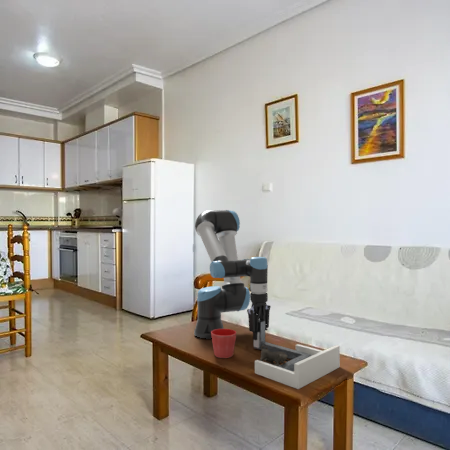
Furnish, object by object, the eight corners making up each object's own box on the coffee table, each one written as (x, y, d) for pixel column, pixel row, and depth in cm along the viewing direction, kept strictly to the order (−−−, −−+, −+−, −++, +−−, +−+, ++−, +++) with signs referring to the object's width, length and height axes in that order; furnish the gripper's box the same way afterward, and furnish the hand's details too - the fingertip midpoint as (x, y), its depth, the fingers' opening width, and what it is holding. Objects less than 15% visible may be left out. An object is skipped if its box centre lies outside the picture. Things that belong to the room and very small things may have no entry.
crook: (228, 357, 152) (227, 328, 152) (258, 346, 165) (257, 319, 165) (282, 376, 132) (282, 343, 132) (311, 362, 146) (311, 331, 146)
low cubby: (254, 373, 136) (254, 351, 136) (297, 354, 155) (297, 335, 155) (298, 389, 122) (298, 364, 122) (339, 367, 141) (339, 345, 141)
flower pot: (239, 351, 159) (239, 329, 160) (233, 360, 149) (232, 336, 149) (215, 349, 162) (215, 327, 162) (207, 358, 152) (207, 334, 152)
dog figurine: (257, 366, 143) (257, 347, 143) (264, 361, 148) (264, 342, 148) (287, 372, 137) (286, 351, 137) (292, 367, 141) (292, 347, 142)
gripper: (253, 296, 154) (253, 352, 155) (277, 291, 166) (277, 343, 166) (240, 293, 160) (240, 348, 160) (264, 289, 171) (264, 339, 171)
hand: (259, 345), depth 163 cm, fingers closed on crook, 3 cm apart
